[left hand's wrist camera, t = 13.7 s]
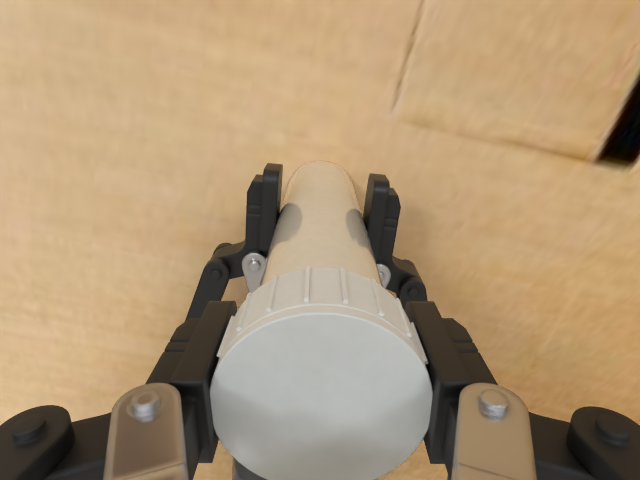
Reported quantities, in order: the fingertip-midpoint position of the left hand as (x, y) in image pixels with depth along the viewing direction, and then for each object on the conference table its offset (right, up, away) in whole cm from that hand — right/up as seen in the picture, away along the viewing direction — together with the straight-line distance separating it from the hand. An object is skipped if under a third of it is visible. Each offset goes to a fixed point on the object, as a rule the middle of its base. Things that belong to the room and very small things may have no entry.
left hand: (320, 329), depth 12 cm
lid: (0, -1, -3) cm, 3 cm away
